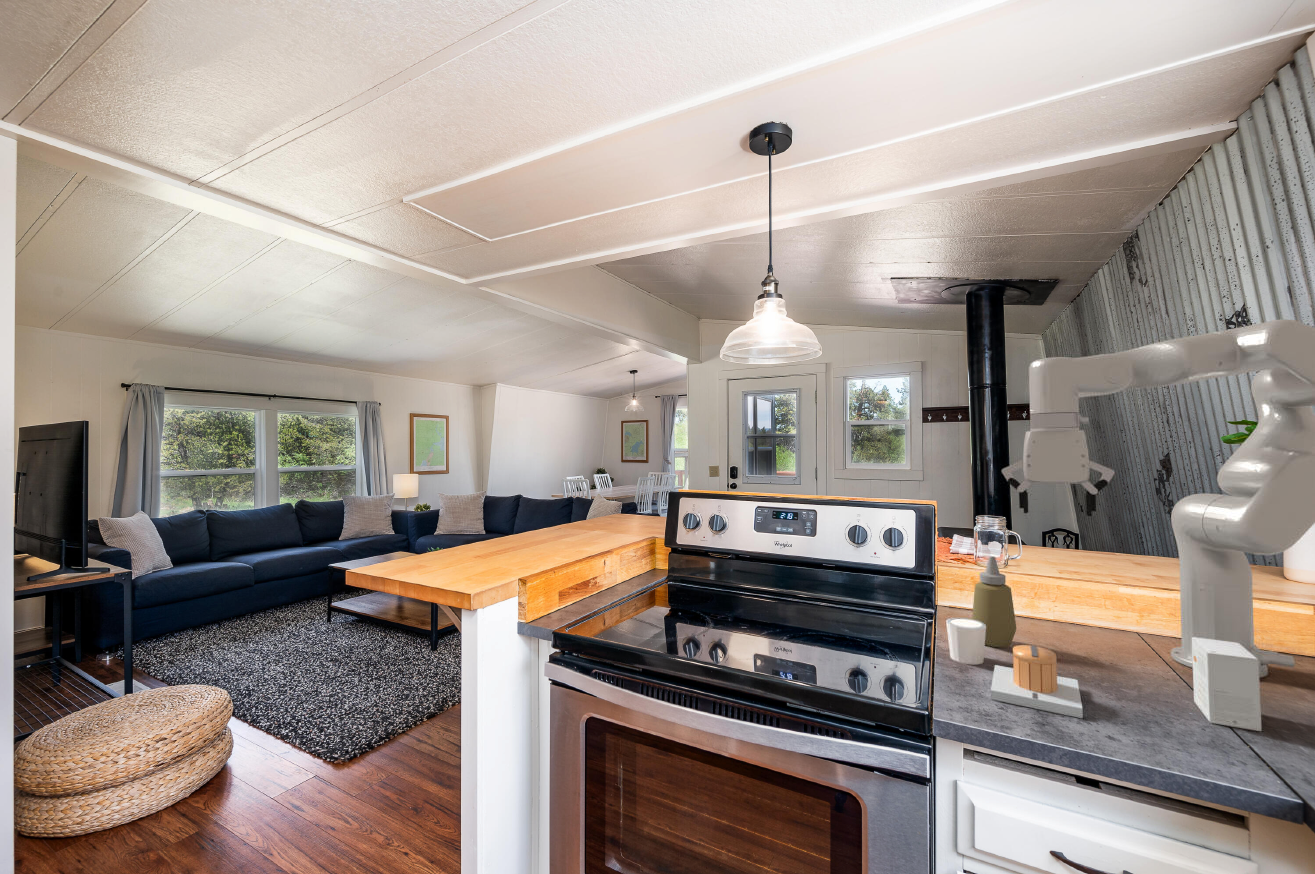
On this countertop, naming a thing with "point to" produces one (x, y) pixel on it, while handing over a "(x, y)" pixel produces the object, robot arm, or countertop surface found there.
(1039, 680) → the cap
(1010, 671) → the knob base plate
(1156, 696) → the countertop surface
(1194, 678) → the small box
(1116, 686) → the countertop surface
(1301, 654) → the countertop surface
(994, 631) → the squeeze bottle
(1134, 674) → the countertop surface
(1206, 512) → the robot arm
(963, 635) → the white cup
